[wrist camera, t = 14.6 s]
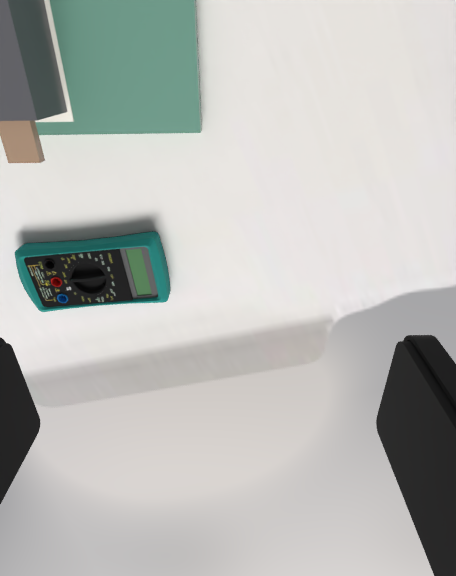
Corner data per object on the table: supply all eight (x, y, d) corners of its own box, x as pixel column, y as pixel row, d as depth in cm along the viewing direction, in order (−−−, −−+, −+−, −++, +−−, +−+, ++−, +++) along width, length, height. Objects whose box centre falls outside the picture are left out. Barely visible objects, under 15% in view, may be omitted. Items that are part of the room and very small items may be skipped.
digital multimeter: (19, 241, 39) (4, 254, 36) (160, 228, 38) (155, 240, 35) (44, 301, 43) (31, 316, 40) (173, 290, 42) (169, 305, 39)
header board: (191, -91, 26) (183, -122, 21) (201, 129, 33) (197, 139, 29) (-127, -84, 26) (-198, -113, 22) (-49, 133, 33) (-91, 143, 29)
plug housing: (31, -62, 25) (-15, -91, 21) (75, 150, 32) (48, 165, 28) (-34, -60, 26) (-95, -89, 21) (24, 151, 32) (-12, 165, 28)
